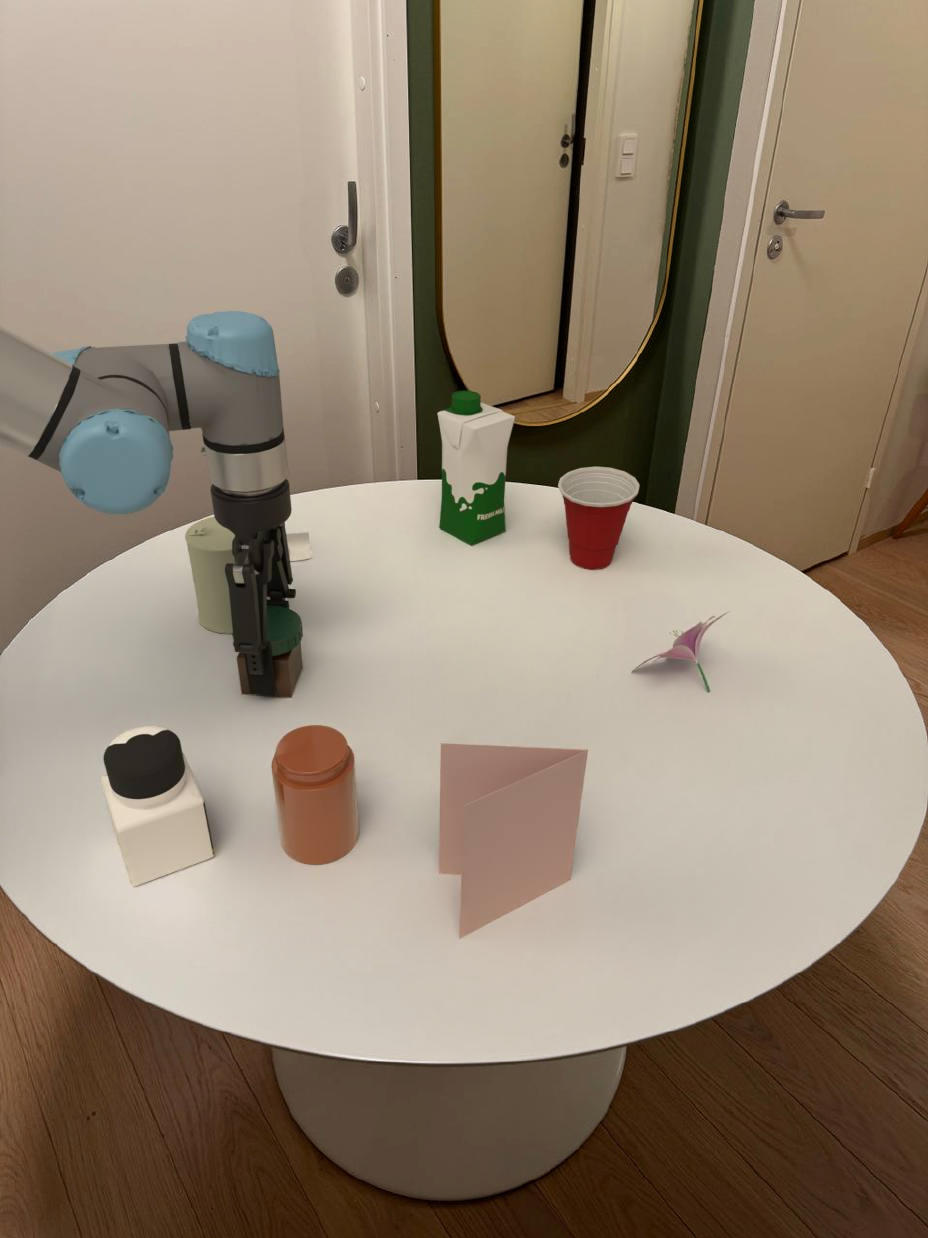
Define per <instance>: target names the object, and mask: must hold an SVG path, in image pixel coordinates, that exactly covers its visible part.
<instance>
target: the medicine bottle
mask: <svg viewBox="0 0 928 1238" xmlns="http://www.w3.org/2000/svg"><path fill="white" fill-rule="evenodd" d="M102 759H103V764H104V767H105V772H106V774H104V775H102V776H101V777H100V784H101V788H102V792H103V795H104V799H105V802H106V806H107V809H108V813H109V817H110V820H111V824H112V828H113V831H114V835H115V838H116V841H117V845H118V847H119V848H118V849H119V850H120V854H121V857H122V861H123V863H124V866H125V870H126V874H127V876H128V880H129V883H130V885H132V887H138V886H141V885H144V884H146V883H148V882H151V881H154V880H156V879H159V878H162V877H165V876H167V875H169V874H172V873H175V872H177V871H181V870H183V869H186V868H188V867H192V866H194V865H197V864H199V863H202V862H204V861H207V860H210V859H212V858H213V857H214V856H215V848H214V843H213V839H212V833H211V828H210V823H209V819H208V812H207V808H206V803H205V802H206V801H205V799H204V797H203V795H202V792H201V790H200V787H199V785H198V783H197V780H196V778H195V776H194V773H193V772H192V769H191V766H190V764H189V763H188V760H187V758H186V756H185V753H184V752H183V749H182V743H181V740H180V738H179V736H178V735H177V734H176V733H175V732H173V731H172V730H170V729H167V728H166V727H162V726H159V725H158V726H157V725H144V726H138V727H134V728H131V729H129V730H126V731H124V732H122V733H121V734H119V735H117V736H116V737H115V738H114V739H113V740H112V741H111V742H110V743H109V744H108V746H107V747H106V748H105V750H104V753H103V757H102Z"/></svg>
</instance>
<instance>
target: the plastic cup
mask: <svg viewBox="0 0 928 1238" xmlns="http://www.w3.org/2000/svg"><path fill="white" fill-rule="evenodd" d="M557 487H558V490H559V492H560V493H561V495H562V499H563V504H564V512H565V524H566V532H567V539H568V552H569V553H568V555H569V556H570V561H571V562H572V564H574V565H575V566H577V567H579V568H582V569H586V570H593V571H594V570H601V569H605V568H607V567H608V566H609V565H611V562H612V561H613V558H614V555H615V552H616V549H617V546H618V544H619V542H620V539H621V536H622V533H623V532H622V531H623V530H624V526H625V523H626V521H627V520H626V519H627V517H628V514H629V512H630V510H631V506H632V504H633V502H634V499H635V498H636V497H637V496H638V494H639V490H640V483H639V482H638V480H637V479H636V477H635V476H633V475H631V474H630V473H629V472H626V471H624V470H621V469H617V468H613V467H607V466H606V467H605V466H587V467H580V468H577V469H574V470H570V471H567V473H565V474H564V475H563V476H561V477H559V481H558V485H557Z"/></svg>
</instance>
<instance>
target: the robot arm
mask: <svg viewBox="0 0 928 1238" xmlns="http://www.w3.org/2000/svg"><path fill="white" fill-rule="evenodd" d="M274 335H275V334H274V330H273V327H272V324H270V323H269V322H268V321H267V320H266V319H265V318H264V317H262V316H260V315H258V314H256V313H253V312H248V311H241V310H240V311H239V310H224V311H223V310H222V311H215V312H213V313H212V312H211V313H203V314H199V315H196V316H194V317H193V318H192V319H190V320H189V322H188V323H187V325H186V336H185V341H178V342H176V343H175V342H173V343H159V344H140V345H139V344H138V345H120V346H118V345H117V346H102V347H101V346H99V347H98V346H97V347H96V346H91V345H86V346H82V347H80V348H74V349H67V350H57V351H55V352H52V353H51V352H50V351H47V350H46V349H44V348H42V347H40V346H39V345H36V344H34V343H32V342H31V341H29V340H27V339H25V338H23V337H21V336H19V335H18V334H15V332H12V331H10V330H8V329H6V328H4V327H2V326H0V445H1V446H5V447H6V448H8V449H11V450H13V451H16V452H17V453H19V454H22V455H24V456H26V457H29V458H30V459H33V460H35V461H37V462H38V463H40V464H43V465H45V466H47V467H49V468H51V469H53V470H55V471H57V472H59V473H60V474H61V476H62V478H63V481H64V483H65V485H66V486H67V487H66V488H68V489H69V491H70V493H71V494H72V495H73V496H74V497H75V498H76V499H77V500H79V502H80V503H82V504H83V505H84V506H86V507H88V508H89V509H92V510H94V511H96V512H100V513H103V514H109V515H129V514H134V513H138V512H140V511H142V510H144V509H147V508H149V507H150V506H151V505H153V503H155V502H156V501H157V500H158V499H159V498H160V497H161V496H162V494H163V493H165V491H166V488H167V486H168V484H169V481H170V476H171V468H172V461H173V460H174V453H173V451H174V447H173V444H172V440H171V437H170V432H177V431H187V430H192V429H201V433H202V435H201V436H202V442H203V446H201V449H200V454H201V456H204V457H206V465H207V472H208V473H207V474H208V478H209V481H210V483H211V486H210V497H211V502H212V503H211V504H212V509H213V517H215V519H216V521H217V522H218V523H219V524H220V525H221V526H223V527H224V528H227V529H228V530H230V531H231V532H232V533H233V534H234V535H235V537H234V539H233V541H232V554H233V556H234V557H235V564H234V563H226V566H225V574H226V578H227V582H228V586H229V596H230V607H231V618H232V629H233V634H232V639H234V641H233V642H232V646H233V649H234V652H235V653H238V654H239V653H244V656H245V663H246V670H247V677H248V684H249V691H250V693H253V694H268V695H275V693H276V684H275V676H274V667H273V659H272V651H271V642H270V641H267V606H281V607H286V608H289V609H290V600H287V599H293V600H294V599H296V596H297V589H296V588H290V587H289V586H291V585H292V584H293V583H294V578H293V572H292V565H291V561H290V557H289V550H288V543H287V536H286V534H287V530H286V521H288V520H289V518H290V517H291V514H292V499H291V487H290V482H289V480H288V477H289V472H290V471H289V463H288V462H289V461H288V453H287V444H286V443H287V442H286V436H285V430H284V429H285V427H284V417H283V403H282V392H281V379H280V378H281V377H280V368H279V363H278V355H277V350H276V341H275V336H274ZM256 572H258V573H259V574H256ZM267 597H270V600H269V599H267Z"/></svg>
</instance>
